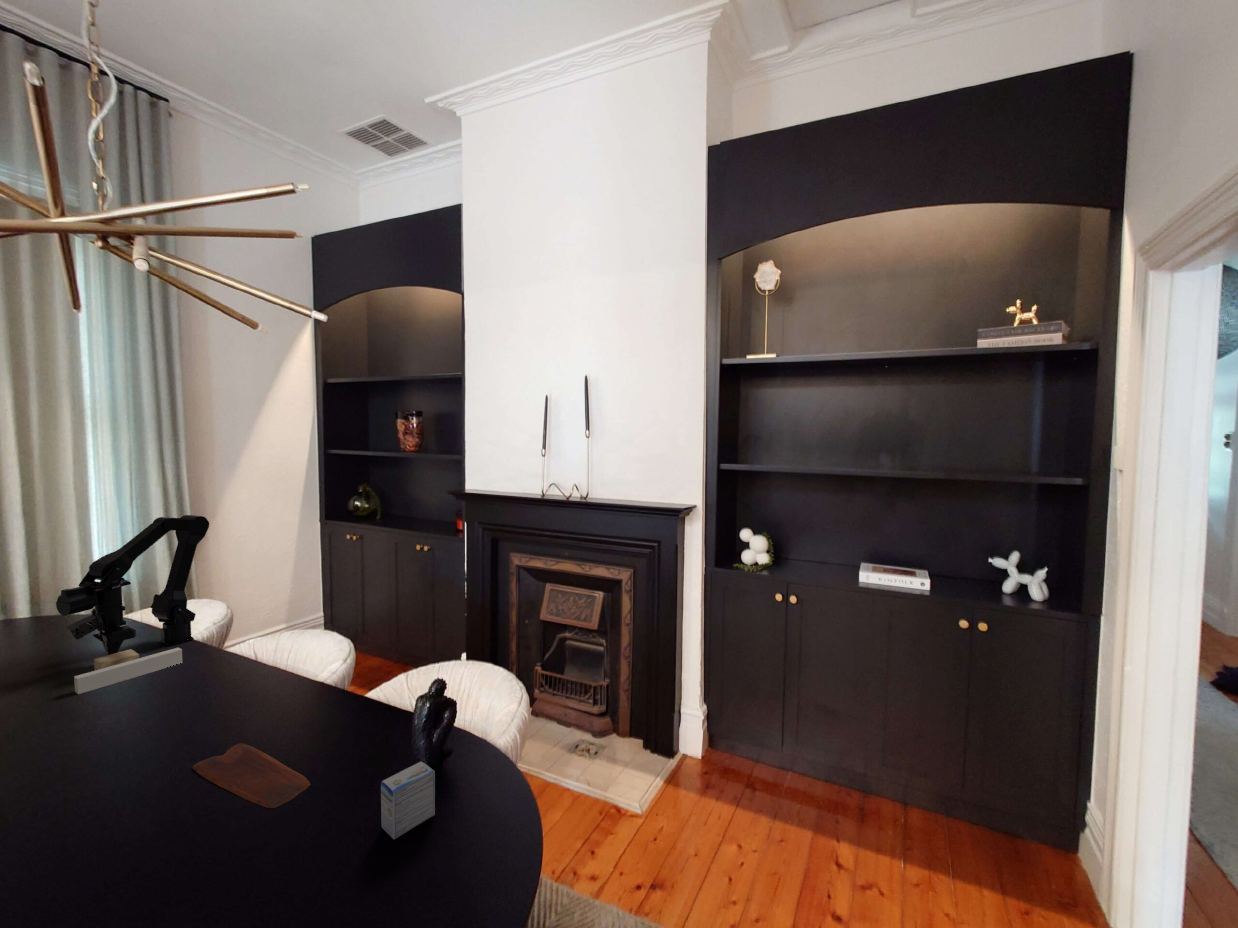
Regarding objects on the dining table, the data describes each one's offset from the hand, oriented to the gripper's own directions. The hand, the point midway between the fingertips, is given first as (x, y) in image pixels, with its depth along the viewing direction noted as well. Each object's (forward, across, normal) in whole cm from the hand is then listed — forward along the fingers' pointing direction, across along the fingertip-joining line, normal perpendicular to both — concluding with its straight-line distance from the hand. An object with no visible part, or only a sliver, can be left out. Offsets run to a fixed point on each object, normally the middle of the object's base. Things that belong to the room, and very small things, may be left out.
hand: (111, 658), depth 158 cm
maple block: (+2, +4, 0) cm, 5 cm away
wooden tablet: (+2, +86, -2) cm, 86 cm away
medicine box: (+2, +122, +6) cm, 122 cm away
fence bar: (+2, +14, 0) cm, 14 cm away
